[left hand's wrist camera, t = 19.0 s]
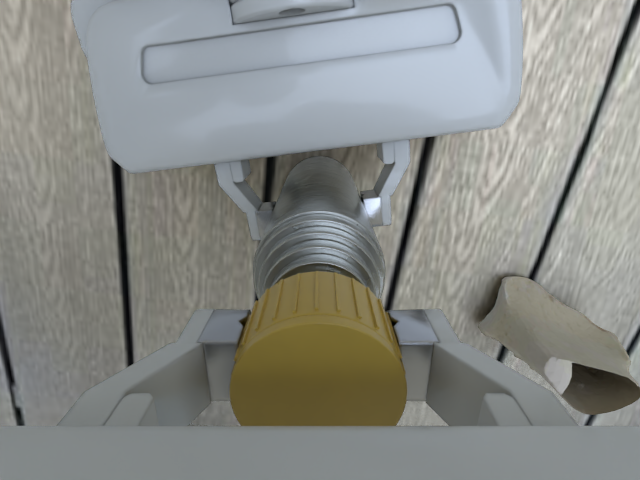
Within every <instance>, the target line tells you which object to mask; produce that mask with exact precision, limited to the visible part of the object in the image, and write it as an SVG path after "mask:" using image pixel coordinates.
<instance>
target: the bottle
mask: <svg viewBox="0 0 640 480" xmlns="http://www.w3.org/2000/svg"><path fill="white" fill-rule="evenodd" d="M315 271H324V272H332V273H334V272H335V273H337V274H341V275H344V276H347V277H350V278H354V279H355V280H356V281H358V282H359V283H361V284H362V285H364V286H365V287H369V288H370V291H371V292H372V293H373V294H374V295H375V296H376V297H377V298H378V299H379V298H381V295H382V292H383V288H384V281H385V261H384V256H383V253H382V250H381V247H380V245H379V242H378V240H377V237H376V235H375V232H374V230H373V227H372V225H371V223H370V220H369V218H368V215H367V213H366V210H365V208H364V205H363V203H362V200H361V198H360V195H359V193H358V190H357V188H356V186H355V183H354V181H353V178H352V176H351V174H350V172H349V171H348V170H347V168H346V167H345V166H344V165H343V164H341V163H340V162H338V161H337V160H335V159H332V158H329V157H324V156H315V157H310V158H307V159H305V160H303V161H301V162H299V163H298V164H297V165H296V166H295V167H294V168H293V169H292V170H291V171H290V173H289V175H288V177H287V179H286V181H285V184H284V186H283V189H282V191H281V193H280V196H279V198H278V200H277V203H276V205H275V208H274V210H273V212H272V215H271V217H270V220H269V222H268V224H267V227H266V229H265V231H264V234H263V236H262V239H261V241H260V243H259V246H258V248H257V251H256V253H255V258H254V263H253V277H254V287H255V291H256V294H257V297H258V299H260V298H261V296H262V295H263V294H264V293H265V290H266V289H267V288H268V289H269V288H271V287H272V286H273V285H275V284H276V283H278V282H280V280H281V279H286V278H288V277H290V276H293V275H297V274H298V273H306V272H315Z"/></svg>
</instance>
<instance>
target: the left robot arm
mask: <svg viewBox="0 0 640 480" xmlns="http://www.w3.org/2000/svg"><path fill="white" fill-rule="evenodd" d="M386 312H388V314H389V318H390V321H391V324H392V327H393V330H394V333H395V336H396V340H397V343H398V346H399V349H400V352H401V355H402V358H401V359H400V361H401V362H403V365H404V369H405V372H406V375H405V378H406V382H407V400H406V401H426V403H427V404H428V405H429V406H430V407H431V408H432V409H433V410H434V411H435V412H436V413H437V414H438V415H439V416H440V417H441V418H442V419H443V420H444V421H445V422H446V423H447V424H448V425H449V426H188V425H189V424H190V423H191V422H192V421H193V420H194V419H195V418H196V417H197V416H198V415H199V414H200V413H201V412H202V411H203V410H204V409H205V408H206V407H207V406H208V405H209V404H210V403H211V401H230V394H229V393H230V381H231V373H232V370H233V367H234V364H235V363H236V361H234V357H235V354H236V351H237V348H238V347H239V344H240V341H241V338H242V335H243V332H244V327H245V324H246V322H247V320H248V317H249V315H251V311H250V310H234V309H198V310H195V312H194V313H193V315H192V317H191V318H190V320H189V322H188V323H187V325H186V327H185V328H184V330H183V332H182V333H181V335H180V337H179V338H178V340H177V342H176V343H169V344H168V345H166V346H164V347H162V348H161V349H159V350H157V351H155V352H154V353H152V354H150V355H148V356H146V357H145V358H143V359H141V360H139V361H138V362H136V363H134V364H132V365H131V366H129V367H127V368H125V369H124V370H122V371H120V372H118V373H116V374H115V375H113V376H111V377H109V378H108V379H106V380H104V381H102V382H101V383H99V384H97V385H95V386H94V387H92V388H90V389H88V390H87V391H85V392H84V393H83V394H82V395H81V396H80V398H79V399H78V400H77V401H76V403H75V404H74V405H73V406H72V408H71V409H70V410H69V411H68V412H67V414H66V415H65V416H64V417H63V419H62V420H61V421H60V422H59V424H58V425H57V426H0V480H640V426H579V425H578V424H577V423H576V421H575V420H574V419H573V418H572V416H571V415H570V414H569V413H568V411H567V410H566V409H565V408H564V406H563V405H562V404H561V402H560V401H559V400H558V399H557V397H556V396H555V395H554V394H553V392H551V391H549V390H548V389H546V388H544V387H542V386H541V385H539V384H537V383H535V382H534V381H532V380H530V379H528V378H527V377H525V376H523V375H521V374H520V373H518V372H516V371H514V370H513V369H511V368H509V367H507V366H506V365H504V364H502V363H501V362H499V361H497V360H495V359H494V358H492V357H490V356H488V355H487V354H485V353H483V352H481V351H480V350H478V349H476V348H474V347H473V346H471V345H469V344H467V343H461V342H460V340H459V339H458V337H457V335H456V334H455V332H454V330H453V329H452V327H451V325H450V323H449V322H448V320H447V318H446V317H445V315H444V313H443V312H442V310H440V309H420V310H387V311H386Z"/></svg>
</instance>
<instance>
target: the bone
mask: <svg viewBox="0 0 640 480" xmlns="http://www.w3.org/2000/svg"><path fill="white" fill-rule="evenodd" d="M478 328H479V329H480V331H481V332H482V333H483V334H484V335H485V336H489V337H492V338H494V339H496V340H498V341H499V342H500V343H502V344H503V345H504V346H505V347H507V348H508V349H509V350H510V351H512V352H513V353H514V356H515V357H517V358H519V359H521V360H523V361H525V362H526V363H527V364H528V365H529V366H530V368H531V369H532V370H535V371H536V372H537V373H539V374H540V375H541V376H542V377H543V378H544V379H545V380H546V381H547V382H548V383H549V384H550V385H551V386H552V387H553V388H554V389H555V390H556V391H557V392H558V393H559V394H560V396H561V397H562V398H563V399H564V400H565V401H566V402H567V403H568V404H569V405H570V406H572V407H573V408H574V409H576V410H578V411H580V412H582V413H585V414H590V415H595V414H601V413H608V412H611V411H615V410H618V409H621V408H623V407H625V406H627V405H630V404H632V403H633V402H635V401H636V400H638V399H639V398H640V387H639V386H638V383H637V382H636V381H635V380H634V378H633V377H632V376H631V375H630V373H629V366H630V365H631V361H630V359H629V356H628V355H627V352H626V351H625V349H624V348H623V346H622V344H621V343H620V342H619V340H618V338H617V337H616V335H615V334H613V333H612V332H609V331H607V330H604V329H602V328H600V327H598V326H597V325H595V324H594V323H592V322H591V321H590V320H589V319H588V318H587V317H586V316H585V315H583V314H582V313H580V312H579V311H577V310H575V309H572V308H570V307H568V306H566V305H565V304H563V303H561V302H560V301H558V300H557V299H556V298H555V297H554V296H552V295H551V294H549V293H548V292H547V291H546V290H545V289H544V288H543V287H542V286H540V285H539V284H538V283H536V282H534V281H532V280H530V279H528V278H526V277H518V276H509V277H505V278H503V279H502V284H501V286H500V288H499V292H498V297H497V300H496V304H495V306H494V308H493V309H492V310H491V312H490V313H489V314H488V315H487V316H486V317H485V318H484V320H482V321H481V322H480V323H479V324H478Z"/></svg>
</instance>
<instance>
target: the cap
mask: <svg viewBox="0 0 640 480" xmlns="http://www.w3.org/2000/svg"><path fill="white" fill-rule="evenodd" d="M401 358H402V355H401V352H400V349H399V346H398V343H397V340H396V336H395V333H394V330H393V327H392V324H391V321H390V318H389V314H388V312H385V310H384V308H383V305H382V302H381V300H380V298H379V299H378V298H377V297H376V296H375V295H374V294H373V293H372V292H371V291H370V288H369V287H365V286H364V285H362V284H361V283H359V282H358V281H356V280H355V279H354V278H350V277H347V276H344V275H341V274H337V273H335V272H334V273H332V272H324V271H315V272H306V273H298V274H297V275H293V276H290V277H288V278H286V279H281V280H280V282H278V283H276V284H275V285H273V286H272V287H271V288H269V289H268V288H267V289H266V290H265V293H264V294H263V295H262V296H261V298H260V299H259V300H258V301H255V303H254V306H253V310H252V313H251V315H249V317H248V320H247V322H246V324H245V327H244V332H243V335H242V338H241V341H240V344H239V347H238V348H237V351H236V354H235V357H234V361H236V363H235V364H234V367H233V370H232V373H231V381H230V393H229V394H230V401H231V405H232V409H233V412H234V414H235V416H236V418H237V420H238V422H239V423H240V425H241V426H396V424H397V423H398V421H399V420H400V418H401V416H402V413H403V411H404V408H405V404H406V400H407V382H406V378H405V375H406V372H405V369H404V365H403V362H401V361H400V359H401Z"/></svg>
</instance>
